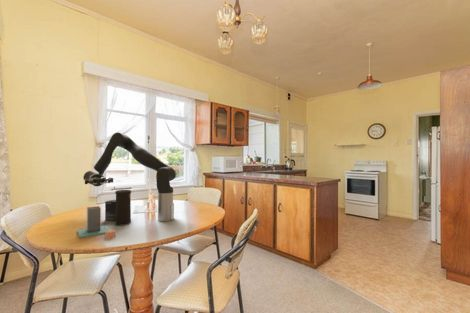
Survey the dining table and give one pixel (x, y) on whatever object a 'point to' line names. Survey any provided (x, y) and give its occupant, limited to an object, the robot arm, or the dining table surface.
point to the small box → (110, 210)
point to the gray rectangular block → (93, 219)
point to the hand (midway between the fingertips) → (101, 181)
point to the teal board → (84, 233)
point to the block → (110, 234)
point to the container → (123, 207)
